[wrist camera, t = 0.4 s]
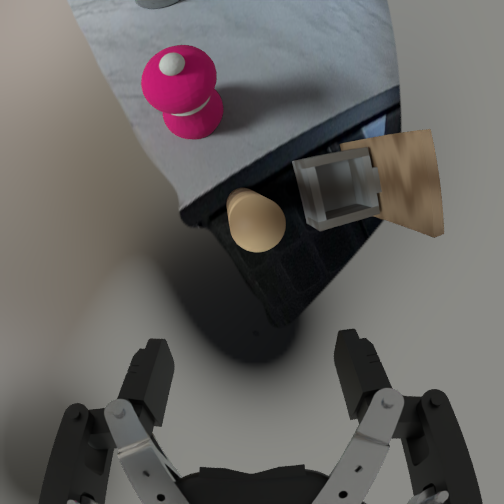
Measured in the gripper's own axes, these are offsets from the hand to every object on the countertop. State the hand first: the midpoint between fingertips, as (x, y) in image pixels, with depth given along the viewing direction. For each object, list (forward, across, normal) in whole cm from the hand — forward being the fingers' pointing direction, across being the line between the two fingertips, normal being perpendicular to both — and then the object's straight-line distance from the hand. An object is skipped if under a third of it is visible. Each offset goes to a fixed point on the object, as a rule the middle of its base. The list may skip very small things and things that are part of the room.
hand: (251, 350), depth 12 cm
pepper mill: (+29, +6, -11) cm, 32 cm away
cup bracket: (+29, -11, -1) cm, 31 cm away
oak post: (+27, +1, +1) cm, 27 cm away
